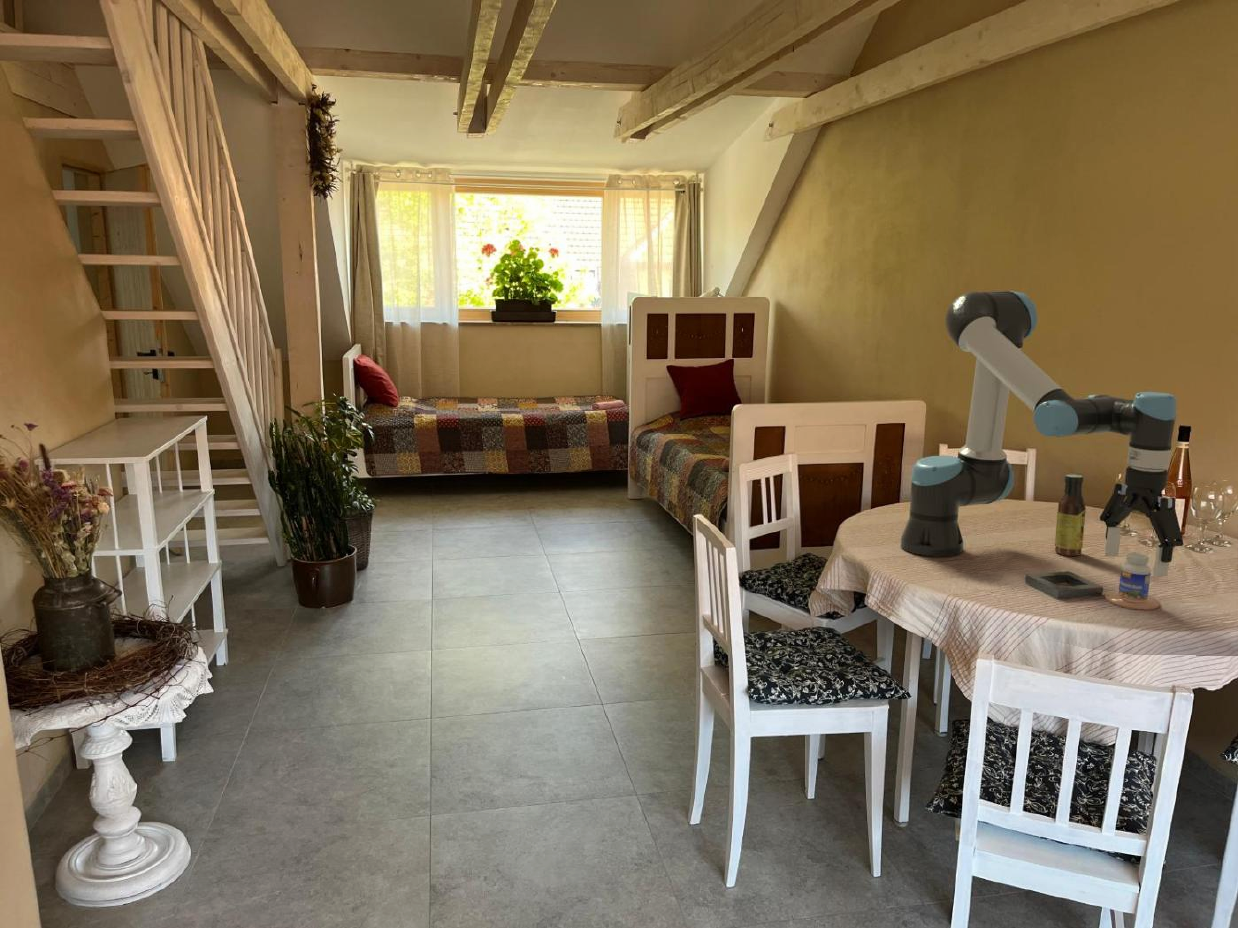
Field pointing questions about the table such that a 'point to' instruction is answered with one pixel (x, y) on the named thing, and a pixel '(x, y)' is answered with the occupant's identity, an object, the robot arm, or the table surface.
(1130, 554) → the pill bottle
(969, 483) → the robot arm
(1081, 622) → the table surface
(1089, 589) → the socket plate
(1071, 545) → the sauce bottle
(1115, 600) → the coaster
